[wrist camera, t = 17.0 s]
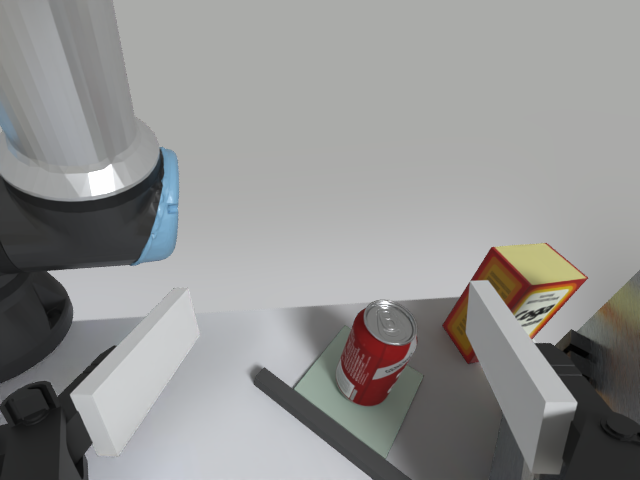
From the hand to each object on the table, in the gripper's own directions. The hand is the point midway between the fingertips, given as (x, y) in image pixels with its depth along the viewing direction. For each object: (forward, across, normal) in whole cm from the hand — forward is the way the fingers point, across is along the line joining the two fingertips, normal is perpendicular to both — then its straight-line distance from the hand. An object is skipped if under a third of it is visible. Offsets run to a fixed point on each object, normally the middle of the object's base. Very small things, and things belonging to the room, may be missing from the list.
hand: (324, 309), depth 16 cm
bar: (+13, -2, -24) cm, 27 cm away
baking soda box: (+31, +19, -26) cm, 44 cm away
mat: (+19, +1, -23) cm, 30 cm away
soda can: (+19, +1, -23) cm, 30 cm away
